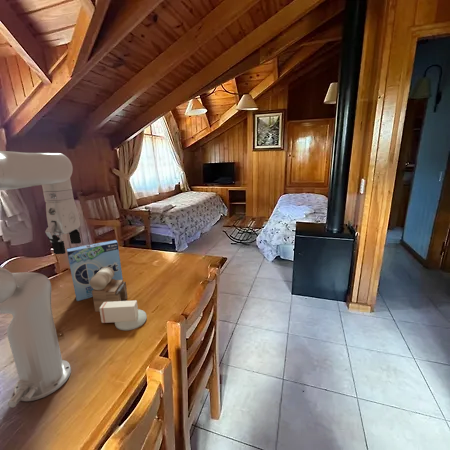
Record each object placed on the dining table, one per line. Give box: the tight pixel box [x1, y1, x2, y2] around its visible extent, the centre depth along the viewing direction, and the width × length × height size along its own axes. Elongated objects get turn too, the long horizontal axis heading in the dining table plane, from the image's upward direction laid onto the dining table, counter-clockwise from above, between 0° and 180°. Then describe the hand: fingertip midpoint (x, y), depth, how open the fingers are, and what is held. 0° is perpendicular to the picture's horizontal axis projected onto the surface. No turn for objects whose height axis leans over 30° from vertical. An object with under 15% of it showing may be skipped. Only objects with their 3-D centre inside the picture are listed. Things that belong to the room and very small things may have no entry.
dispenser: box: [90, 266, 129, 313], centre depth 103 cm, size 10×10×15 cm
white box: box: [99, 299, 139, 324], centre depth 93 cm, size 4×12×6 cm, turn 94°
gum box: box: [66, 239, 124, 302], centre depth 111 cm, size 20×5×23 cm, turn 123°
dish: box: [114, 308, 147, 331], centre depth 94 cm, size 11×11×1 cm
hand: (68, 248), depth 82 cm, fingers open, 9 cm apart
